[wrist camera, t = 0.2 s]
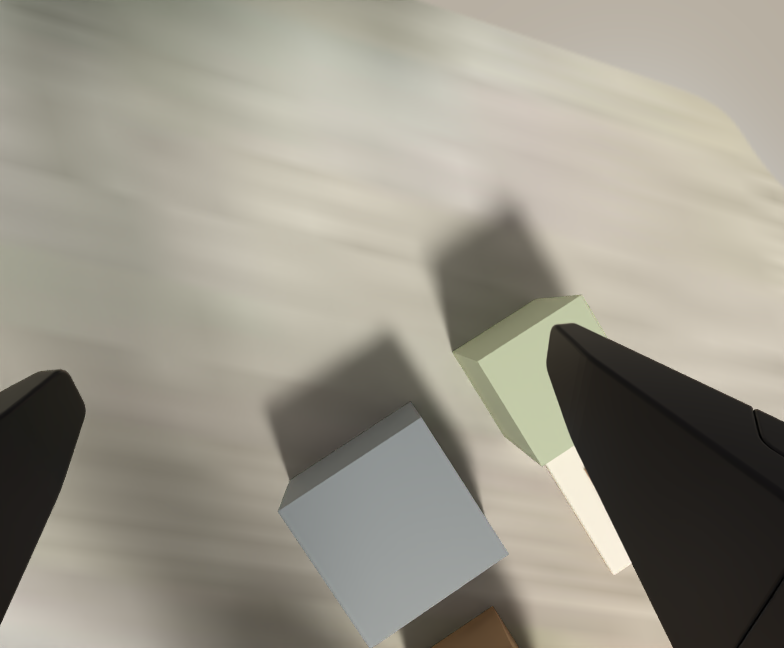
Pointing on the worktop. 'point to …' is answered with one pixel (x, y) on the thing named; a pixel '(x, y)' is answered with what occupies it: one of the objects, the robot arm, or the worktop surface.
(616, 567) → the card
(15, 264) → the worktop surface
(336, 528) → the slate base block
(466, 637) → the walnut block
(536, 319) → the sage block
